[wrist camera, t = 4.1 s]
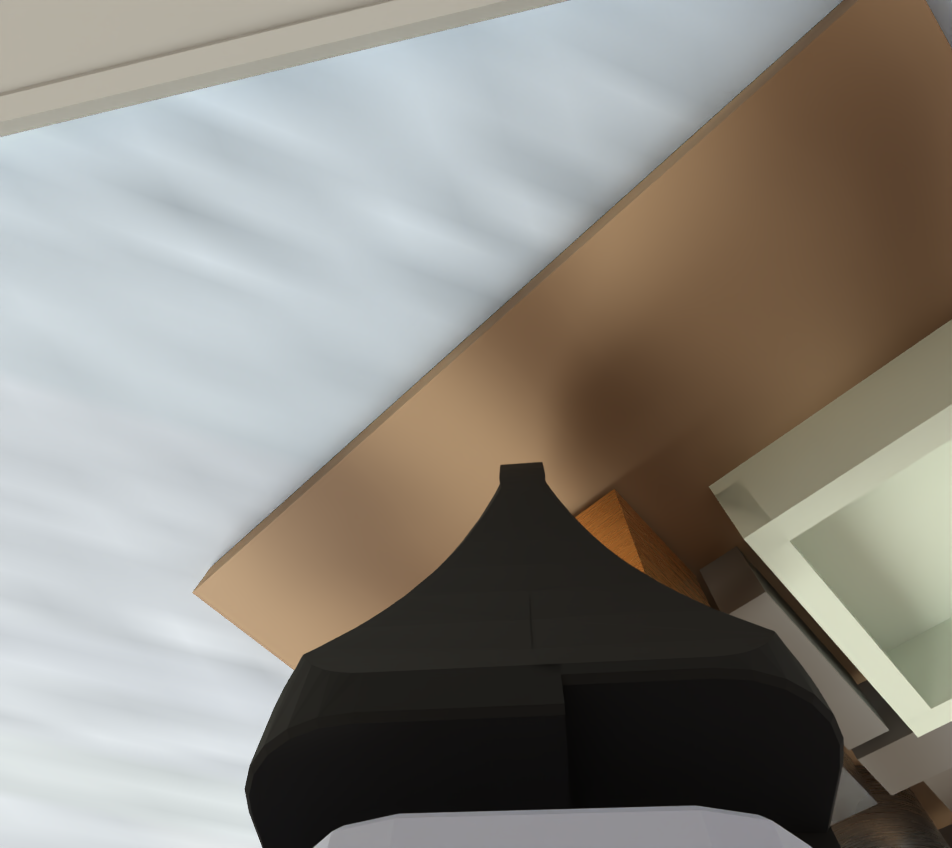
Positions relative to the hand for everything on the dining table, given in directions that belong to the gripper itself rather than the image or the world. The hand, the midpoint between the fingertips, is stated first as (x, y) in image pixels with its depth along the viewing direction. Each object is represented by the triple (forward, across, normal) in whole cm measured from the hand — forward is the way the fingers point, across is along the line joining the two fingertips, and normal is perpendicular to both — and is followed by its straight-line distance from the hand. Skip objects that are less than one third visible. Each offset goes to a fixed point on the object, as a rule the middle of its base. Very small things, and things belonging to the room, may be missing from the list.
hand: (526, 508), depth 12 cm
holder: (+3, -6, +6) cm, 9 cm away
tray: (+3, -9, +1) cm, 9 cm away
